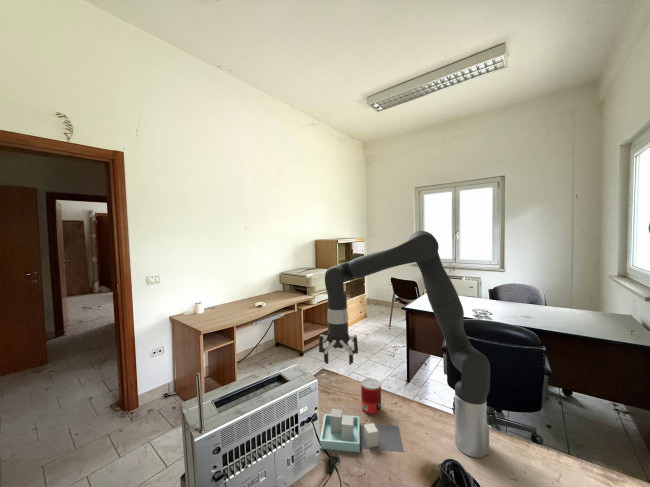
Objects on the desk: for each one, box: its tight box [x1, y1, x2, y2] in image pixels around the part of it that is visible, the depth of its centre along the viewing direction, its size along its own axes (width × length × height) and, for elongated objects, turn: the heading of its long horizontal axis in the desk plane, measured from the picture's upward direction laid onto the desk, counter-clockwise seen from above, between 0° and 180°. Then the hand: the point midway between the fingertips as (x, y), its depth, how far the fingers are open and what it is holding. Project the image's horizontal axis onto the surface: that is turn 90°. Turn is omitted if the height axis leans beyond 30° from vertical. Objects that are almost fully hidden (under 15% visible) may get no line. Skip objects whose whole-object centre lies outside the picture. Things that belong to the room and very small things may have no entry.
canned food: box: [360, 377, 382, 416], centre depth 107 cm, size 8×8×11 cm
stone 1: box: [330, 408, 344, 434], centre depth 96 cm, size 4×4×6 cm
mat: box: [359, 422, 405, 453], centre depth 92 cm, size 14×12×1 cm
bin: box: [319, 413, 361, 453], centre depth 93 cm, size 13×13×3 cm
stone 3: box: [364, 422, 378, 448], centre depth 90 cm, size 4×4×5 cm
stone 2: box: [341, 416, 354, 442], centre depth 92 cm, size 4×4×6 cm
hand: (338, 363), depth 97 cm, fingers open, 8 cm apart
